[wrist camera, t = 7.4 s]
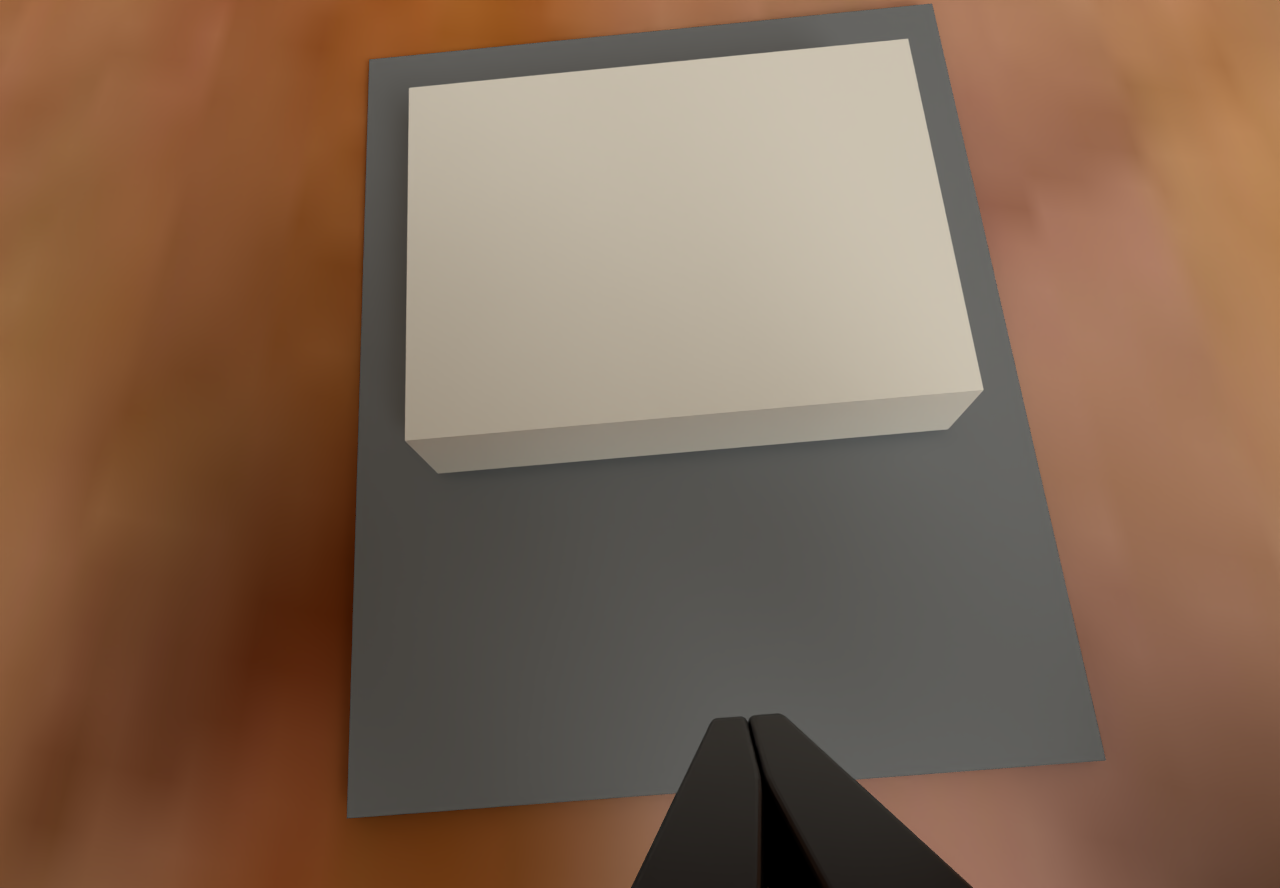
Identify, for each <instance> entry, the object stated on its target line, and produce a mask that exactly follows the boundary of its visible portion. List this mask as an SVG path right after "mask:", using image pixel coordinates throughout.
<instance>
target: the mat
mask: <svg viewBox="0 0 1280 888" xmlns="http://www.w3.org/2000/svg"><path fill="white" fill-rule="evenodd" d="M900 39H908V41H909V45H910V50H911V55H912V59H913V64H914V68H915V73H916V78H917V82H918V87H919V92H920V96H921V101H922V106H923V110H924V115H925V120H926V124H927V129H928V134H929V138H930V143H931V147H932V152H933V157H934V161H935V166H936V171H937V175H938V180H939V185H940V189H941V194H942V199H943V203H944V208H945V213H946V217H947V222H948V226H949V231H950V236H951V240H952V245H953V250H954V254H955V259H956V264H957V268H958V273H959V278H960V282H961V287H962V292H963V296H964V301H965V305H966V310H967V315H968V319H969V324H970V329H971V333H972V338H973V343H974V347H975V352H976V357H977V361H978V366H979V371H980V375H981V380H982V385H983V389H984V390H983V391H982V392H981V393H980V395H979V396H978V397H977V398H976V399H975V400H974V401H973V402H972V403H971V404H970V406H969V407H968V408H967V409H966V410H965V411H964V412H963V413H962V414H961V416H960V417H959V418H958V419H957V420H956V421H955V422H954V423H953V424H952V426H951V427H950V428H949V429H947V430H935V431H924V432H912V433H901V434H889V435H877V436H866V437H854V438H843V439H831V440H820V441H808V442H797V443H785V444H774V445H762V446H751V447H739V448H728V449H716V450H704V451H693V452H681V453H670V454H658V455H647V456H635V457H624V458H612V459H601V460H589V461H578V462H566V463H555V464H543V465H532V466H520V467H508V468H497V469H485V470H474V471H462V472H451V473H439V474H438V473H437V472H436V471H435V470H434V469H433V468H432V467H431V466H430V465H429V464H428V463H427V462H426V461H425V460H424V459H423V458H422V457H421V456H420V455H419V454H418V453H417V452H416V451H415V450H414V449H413V448H412V447H411V446H410V445H409V444H408V443H407V442H406V441H405V385H406V300H407V215H408V129H409V88H412V87H423V86H433V85H443V84H453V83H463V82H473V81H484V80H494V79H504V78H514V77H524V76H534V75H544V74H555V73H565V72H575V71H585V70H595V69H605V68H615V67H626V66H636V65H646V64H656V63H666V62H676V61H687V60H697V59H707V58H717V57H727V56H737V55H747V54H758V53H768V52H778V51H788V50H798V49H808V48H818V47H829V46H839V45H849V44H859V43H869V42H879V41H890V40H900ZM775 713H780V714H783V715H784V716H786V717H787V718H788V719H789V720H790V721H791V722H792V723H793V724H795V725H796V726H797V727H798V728H799V729H800V730H801V731H802V732H803V733H804V734H805V735H807V736H808V737H809V738H810V739H811V740H812V741H813V742H814V743H815V744H816V745H818V746H819V747H820V748H821V749H822V750H823V751H824V752H825V753H826V754H827V755H828V756H830V757H831V758H832V759H833V760H834V761H835V762H836V763H837V764H838V765H839V766H840V767H842V768H843V769H844V770H845V771H846V772H847V773H848V774H849V775H850V776H851V777H853V778H854V779H855V780H856V779H869V778H882V777H895V776H908V775H921V774H934V773H947V772H960V771H974V770H987V769H1000V768H1013V767H1026V766H1039V765H1052V764H1065V763H1078V762H1091V761H1104V760H1106V759H1105V754H1104V750H1103V746H1102V741H1101V737H1100V733H1099V728H1098V724H1097V720H1096V715H1095V711H1094V707H1093V702H1092V698H1091V694H1090V689H1089V685H1088V680H1087V676H1086V672H1085V667H1084V663H1083V659H1082V654H1081V650H1080V646H1079V641H1078V637H1077V633H1076V628H1075V624H1074V620H1073V615H1072V611H1071V606H1070V602H1069V598H1068V593H1067V589H1066V585H1065V580H1064V576H1063V572H1062V567H1061V563H1060V559H1059V554H1058V550H1057V546H1056V541H1055V537H1054V532H1053V528H1052V524H1051V519H1050V515H1049V511H1048V506H1047V502H1046V498H1045V493H1044V489H1043V485H1042V480H1041V476H1040V472H1039V467H1038V463H1037V458H1036V454H1035V450H1034V445H1033V441H1032V437H1031V432H1030V428H1029V424H1028V419H1027V415H1026V411H1025V406H1024V402H1023V397H1022V393H1021V389H1020V384H1019V380H1018V376H1017V371H1016V367H1015V363H1014V358H1013V354H1012V350H1011V345H1010V341H1009V337H1008V332H1007V328H1006V323H1005V319H1004V315H1003V310H1002V306H1001V302H1000V297H999V293H998V289H997V284H996V280H995V276H994V271H993V267H992V263H991V258H990V254H989V249H988V245H987V241H986V236H985V232H984V228H983V223H982V219H981V215H980V210H979V206H978V202H977V197H976V193H975V189H974V184H973V180H972V175H971V171H970V167H969V162H968V158H967V154H966V149H965V145H964V141H963V136H962V132H961V128H960V123H959V119H958V115H957V110H956V106H955V101H954V97H953V93H952V88H951V84H950V80H949V75H948V71H947V67H946V62H945V58H944V54H943V49H942V45H941V41H940V36H939V32H938V27H937V23H936V19H935V14H934V10H933V6H932V4H924V5H914V6H904V7H894V8H883V9H873V10H863V11H853V12H843V13H833V14H823V15H813V16H803V17H793V18H783V19H773V20H763V21H753V22H743V23H733V24H723V25H713V26H703V27H692V28H682V29H672V30H662V31H652V32H642V33H632V34H622V35H612V36H602V37H592V38H582V39H572V40H562V41H552V42H542V43H532V44H522V45H512V46H501V47H491V48H481V49H471V50H461V51H451V52H441V53H431V54H421V55H411V56H401V57H391V58H381V59H371V60H369V90H368V124H367V158H366V191H365V225H364V259H363V292H362V326H361V360H360V393H359V427H358V461H357V494H356V528H355V562H354V595H353V629H352V663H351V696H350V730H349V764H348V797H347V818H359V817H372V816H385V815H398V814H411V813H424V812H437V811H450V810H463V809H477V808H490V807H503V806H516V805H529V804H542V803H555V802H568V801H581V800H594V799H607V798H620V797H634V796H647V795H660V794H673V793H677V791H678V789H679V787H680V785H681V783H682V781H683V779H684V776H685V774H686V772H687V770H688V768H689V766H690V764H691V762H692V760H693V758H694V756H695V754H696V751H697V749H698V747H699V745H700V743H701V741H702V739H703V737H704V735H705V733H706V731H707V729H708V726H709V724H710V723H711V721H712V720H713V719H715V718H724V717H737V716H742V717H744V718H746V720H747V721H748V720H749V718H750V717H751V716H753V715H762V714H775Z"/></svg>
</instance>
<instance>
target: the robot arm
mask: <svg viewBox="0 0 1280 888" xmlns="http://www.w3.org/2000/svg"><path fill="white" fill-rule="evenodd" d="M631 888H973V887H972V886H971V885H970V884H968V883H967V882H966V881H965V880H964V879H963V878H962V877H961V876H960V875H959V874H957V873H956V872H955V871H954V870H953V869H952V868H951V867H950V866H949V865H948V864H947V863H945V862H944V861H943V860H942V859H941V858H940V857H939V856H938V855H937V854H936V853H935V852H933V851H932V850H931V849H930V848H929V847H928V846H927V845H926V844H925V843H924V842H922V841H921V840H920V839H919V838H918V837H917V836H916V835H915V834H914V833H913V832H912V831H910V830H909V829H908V828H907V827H906V826H905V825H904V824H903V823H902V822H901V821H900V820H898V819H897V818H896V817H895V816H894V815H893V814H892V813H891V812H890V811H889V810H888V809H886V808H885V807H884V806H883V805H882V804H881V803H880V802H879V801H878V800H877V799H875V798H874V797H873V796H872V795H871V794H870V793H869V792H868V791H867V790H866V789H865V788H863V787H862V786H861V785H860V784H859V783H858V782H857V781H856V780H855V779H854V778H853V777H851V776H850V775H849V774H848V773H847V772H846V771H845V770H844V769H843V768H842V767H840V766H839V765H838V764H837V763H836V762H835V761H834V760H833V759H832V758H831V757H830V756H828V755H827V754H826V753H825V752H824V751H823V750H822V749H821V748H820V747H819V746H818V745H816V744H815V743H814V742H813V741H812V740H811V739H810V738H809V737H808V736H807V735H805V734H804V733H803V732H802V731H801V730H800V729H799V728H798V727H797V726H796V725H795V724H793V723H792V722H791V721H790V720H789V719H788V718H787V717H786V716H784V715H783V714H780V713H775V714H762V715H753V716H751V717H750V718H749V720H748V721H747V720H746V718H744V717H742V716H737V717H724V718H715V719H713V720H712V721H711V723H710V724H709V726H708V729H707V731H706V733H705V735H704V737H703V739H702V741H701V743H700V745H699V747H698V749H697V751H696V754H695V756H694V758H693V760H692V762H691V764H690V766H689V768H688V770H687V772H686V774H685V776H684V779H683V781H682V783H681V785H680V787H679V789H678V791H677V793H676V795H675V797H674V799H673V802H672V804H671V806H670V808H669V810H668V812H667V814H666V816H665V818H664V820H663V822H662V824H661V827H660V829H659V831H658V833H657V835H656V837H655V839H654V841H653V843H652V845H651V847H650V849H649V852H648V854H647V856H646V858H645V860H644V862H643V864H642V866H641V868H640V870H639V872H638V874H637V877H636V879H635V881H634V883H633V885H632V887H631Z"/></svg>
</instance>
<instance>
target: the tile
mask: <svg viewBox="0 0 1280 888" xmlns="http://www.w3.org/2000/svg"><path fill="white" fill-rule="evenodd" d="M983 390H984V389H983V385H982V380H981V375H980V371H979V366H978V361H977V357H976V352H975V347H974V343H973V338H972V333H971V329H970V324H969V319H968V315H967V310H966V305H965V301H964V296H963V292H962V287H961V282H960V278H959V273H958V268H957V264H956V259H955V254H954V250H953V245H952V240H951V236H950V231H949V226H948V222H947V217H946V213H945V208H944V203H943V199H942V194H941V189H940V185H939V180H938V175H937V171H936V166H935V161H934V157H933V152H932V147H931V143H930V138H929V134H928V129H927V124H926V120H925V115H924V110H923V106H922V101H921V96H920V92H919V87H918V82H917V78H916V73H915V68H914V64H913V59H912V55H911V50H910V45H909V41H908V39H900V40H890V41H879V42H869V43H859V44H849V45H839V46H829V47H818V48H808V49H798V50H788V51H778V52H768V53H758V54H747V55H737V56H727V57H717V58H707V59H697V60H687V61H676V62H666V63H656V64H646V65H636V66H626V67H615V68H605V69H595V70H585V71H575V72H565V73H555V74H544V75H534V76H524V77H514V78H504V79H494V80H484V81H473V82H463V83H453V84H443V85H433V86H423V87H412V88H409V129H408V215H407V300H406V385H405V441H406V442H407V443H408V444H409V445H410V446H411V447H412V448H413V449H414V450H415V451H416V452H417V453H418V454H419V455H420V456H421V457H422V458H423V459H424V460H425V461H426V462H427V463H428V464H429V465H430V466H431V467H432V468H433V469H434V470H435V471H436V472H437V473H438V474H439V473H451V472H462V471H474V470H485V469H497V468H508V467H520V466H532V465H543V464H555V463H566V462H578V461H589V460H601V459H612V458H624V457H635V456H647V455H658V454H670V453H681V452H693V451H704V450H716V449H728V448H739V447H751V446H762V445H774V444H785V443H797V442H808V441H820V440H831V439H843V438H854V437H866V436H877V435H889V434H901V433H912V432H924V431H935V430H947V429H949V428H950V427H951V426H952V424H953V423H954V422H955V421H956V420H957V419H958V418H959V417H960V416H961V414H962V413H963V412H964V411H965V410H966V409H967V408H968V407H969V406H970V404H971V403H972V402H973V401H974V400H975V399H976V398H977V397H978V396H979V395H980V393H981V392H982V391H983Z"/></svg>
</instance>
